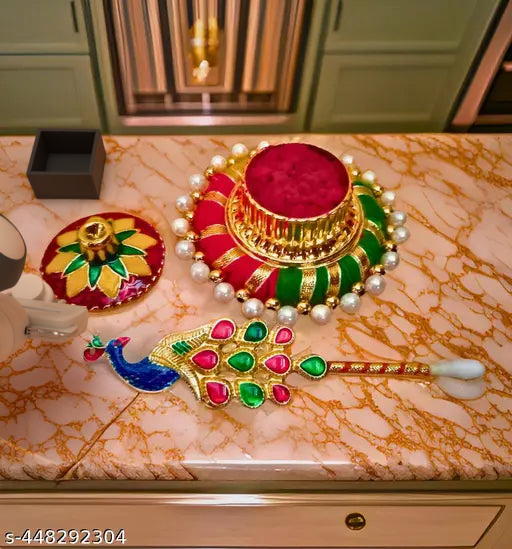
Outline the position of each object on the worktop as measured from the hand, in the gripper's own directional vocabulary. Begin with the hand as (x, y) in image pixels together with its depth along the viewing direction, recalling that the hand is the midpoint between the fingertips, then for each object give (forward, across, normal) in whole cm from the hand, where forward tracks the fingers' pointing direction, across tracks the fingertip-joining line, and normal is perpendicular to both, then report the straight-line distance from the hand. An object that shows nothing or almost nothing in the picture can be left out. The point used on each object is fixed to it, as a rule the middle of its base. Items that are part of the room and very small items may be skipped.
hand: (37, 300), depth 90 cm
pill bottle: (+4, 0, +5) cm, 6 cm away
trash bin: (+35, +8, -17) cm, 40 cm away
